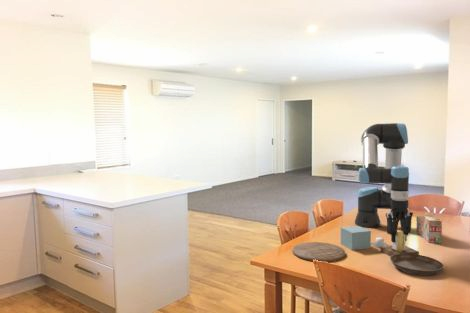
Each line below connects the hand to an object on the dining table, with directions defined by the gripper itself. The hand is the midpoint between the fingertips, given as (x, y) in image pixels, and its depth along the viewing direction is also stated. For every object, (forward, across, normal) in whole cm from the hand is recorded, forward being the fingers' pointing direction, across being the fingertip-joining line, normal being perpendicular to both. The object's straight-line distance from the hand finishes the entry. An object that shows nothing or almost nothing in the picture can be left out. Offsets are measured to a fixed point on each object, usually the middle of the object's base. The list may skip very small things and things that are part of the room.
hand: (398, 248), depth 175 cm
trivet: (+4, -34, +15) cm, 37 cm away
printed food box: (+4, +36, +21) cm, 42 cm away
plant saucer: (+4, -3, -15) cm, 16 cm away
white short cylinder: (+3, +2, +16) cm, 17 cm away
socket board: (+4, +2, +2) cm, 5 cm away
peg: (+4, 0, 0) cm, 4 cm away
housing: (+4, -11, +19) cm, 22 cm away
